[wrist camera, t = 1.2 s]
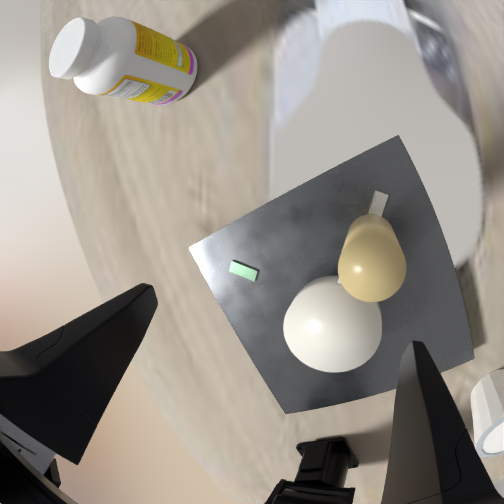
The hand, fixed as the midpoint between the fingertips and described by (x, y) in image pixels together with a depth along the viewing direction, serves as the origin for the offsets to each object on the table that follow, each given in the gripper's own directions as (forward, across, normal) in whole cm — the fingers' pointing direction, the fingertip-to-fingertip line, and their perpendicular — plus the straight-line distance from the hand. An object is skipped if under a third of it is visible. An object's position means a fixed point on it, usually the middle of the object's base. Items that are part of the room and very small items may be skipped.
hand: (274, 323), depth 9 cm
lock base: (+13, -3, +10) cm, 17 cm away
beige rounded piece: (+10, -3, +7) cm, 13 cm away
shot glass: (+9, -22, +17) cm, 29 cm away
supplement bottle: (+20, +15, -7) cm, 26 cm away
